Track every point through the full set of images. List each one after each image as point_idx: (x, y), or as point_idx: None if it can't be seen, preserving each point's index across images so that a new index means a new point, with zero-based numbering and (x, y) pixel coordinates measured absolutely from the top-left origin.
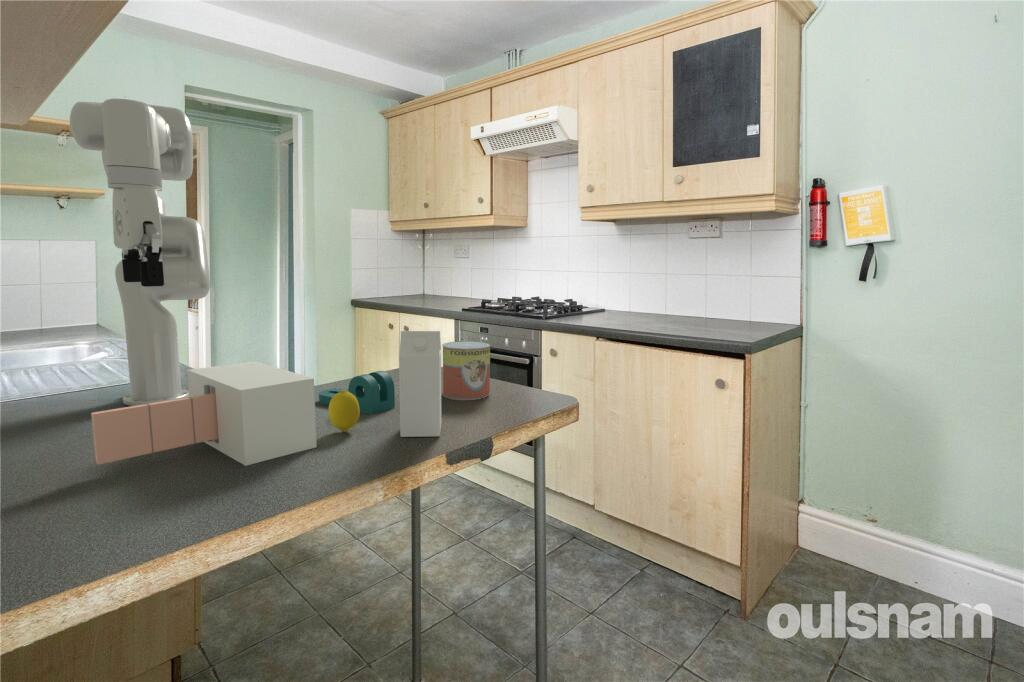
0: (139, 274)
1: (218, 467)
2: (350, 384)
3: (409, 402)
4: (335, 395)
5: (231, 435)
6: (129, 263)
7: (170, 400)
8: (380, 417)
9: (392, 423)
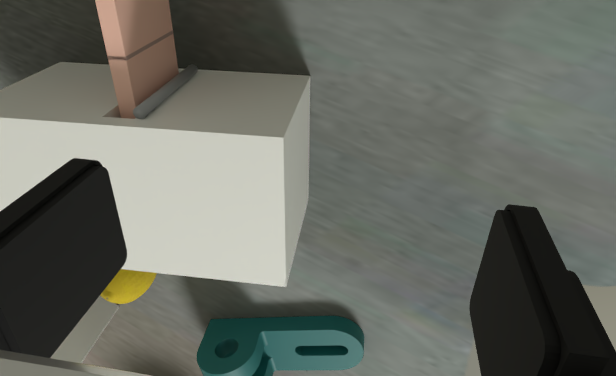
0: (482, 318)
1: (77, 26)
2: (247, 357)
3: None
4: (113, 281)
5: (83, 78)
6: (524, 350)
7: (111, 11)
8: (186, 314)
9: (144, 305)
